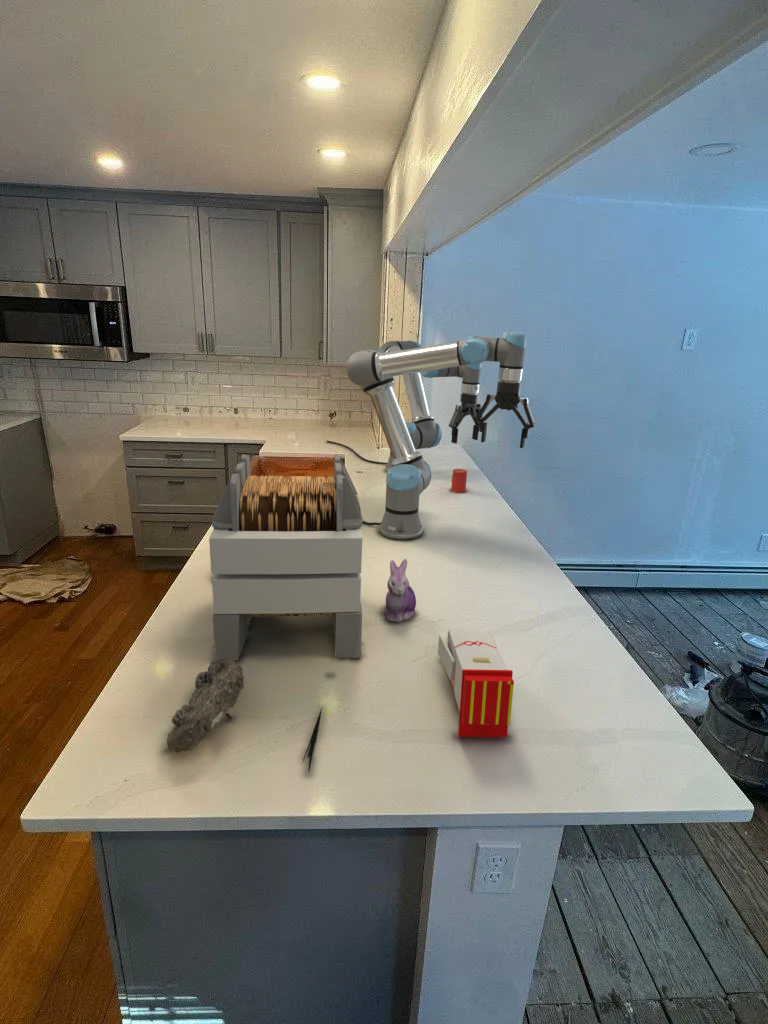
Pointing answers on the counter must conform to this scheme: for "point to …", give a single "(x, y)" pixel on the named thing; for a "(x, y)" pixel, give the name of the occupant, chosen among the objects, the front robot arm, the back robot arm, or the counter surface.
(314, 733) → the feather
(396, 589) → the figurine
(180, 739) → the fossil
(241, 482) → the record crate
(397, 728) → the counter surface
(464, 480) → the canister
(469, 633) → the toy
